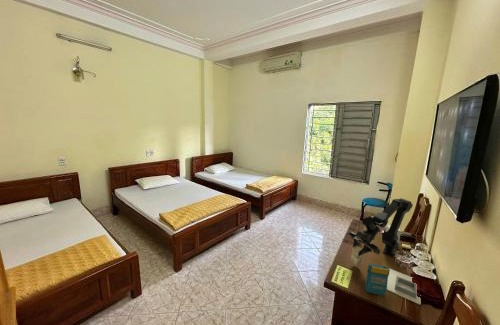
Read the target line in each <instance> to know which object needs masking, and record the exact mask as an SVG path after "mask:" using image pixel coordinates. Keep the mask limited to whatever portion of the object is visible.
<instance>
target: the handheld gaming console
mask: <svg viewBox="0 0 500 325" xmlns="http://www.w3.org/2000/svg"><path fill="white" fill-rule="evenodd" d="M390 269H391V268H389V267H387V266H384V265H379V264H372V263H369V264H368V266H367V270H366V271H367V273H366V277H365V278H366V279H365V284H364V290H365V291H366V292H367V293H369V294H374V295H379V296H383V297H384V296H385V295H386V293H387V291H388V290H387V281H388V275H389V271H390Z"/></svg>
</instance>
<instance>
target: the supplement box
mask: <svg viewBox="0 0 500 325" xmlns="http://www.w3.org/2000/svg"><path fill="white" fill-rule="evenodd" d="M390 226H391V224H387V225H386V226H385V227H386V229H385V232H387V231H388V230H389V228H390ZM401 233H402V231H401V229H400V228H399V230H398V232H397V236H398V241H397V242H398V243H399V244H400V240H401Z"/></svg>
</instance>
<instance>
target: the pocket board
mask: <svg viewBox="0 0 500 325" xmlns="http://www.w3.org/2000/svg"><path fill="white" fill-rule="evenodd" d="M389 269H390V271H389V275H388V281H387V290H386V291H389V292H390V293H394V295H395V294H396V296H400V297H401V298H404V299H406V300H409V301H411V302H413V303H415V304H418V305H421V303H422V302H421V301H422V300H421V298H420V297H418V296H417V284H416V283H413V282H412V278H413V277H412V276H409V275H407V274H404V273H402V272H400V271H396V270H395V269H393V268H389ZM413 287H414V288H413Z"/></svg>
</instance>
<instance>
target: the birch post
mask: <svg viewBox="0 0 500 325" xmlns="http://www.w3.org/2000/svg"><path fill="white" fill-rule="evenodd" d="M362 249H363V248H362V247H360V246H355V247H353V246H352V250H351V257H350V262H351V263H352V264H353V265H354V266H358V265H361V263H362V256H363V254H362V255H360V256H359V255H358V254H359V253H360V251H361V250H362Z"/></svg>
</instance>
